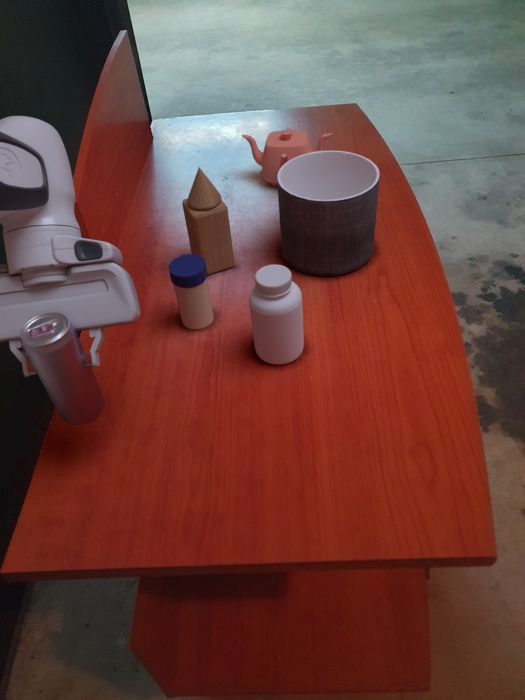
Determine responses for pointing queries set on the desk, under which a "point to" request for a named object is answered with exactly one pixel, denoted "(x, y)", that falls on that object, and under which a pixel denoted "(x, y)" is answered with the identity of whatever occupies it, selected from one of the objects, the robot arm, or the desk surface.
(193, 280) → the jar lid
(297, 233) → the planter
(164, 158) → the desk surface
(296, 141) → the teapot
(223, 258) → the decorative item
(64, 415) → the beverage can
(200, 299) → the jar
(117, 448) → the desk surface
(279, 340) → the pill bottle
